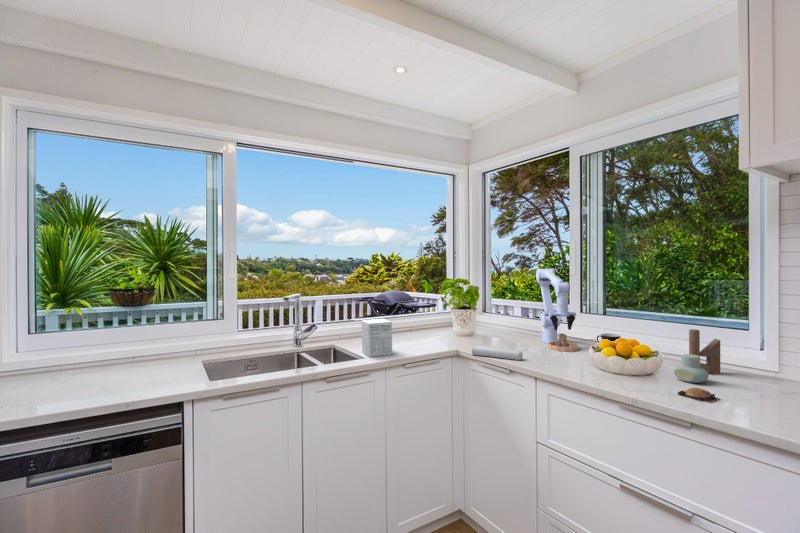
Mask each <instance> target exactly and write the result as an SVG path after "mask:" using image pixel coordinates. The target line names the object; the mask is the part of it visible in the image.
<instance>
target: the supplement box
mask: <svg viewBox="0 0 800 533" xmlns="http://www.w3.org/2000/svg"><path fill="white" fill-rule="evenodd" d="M361 349H362V353H363V354H365V355H366V356H367V357H368V358H372V357H383V356H391V355H393V321H391V320H388V319H385V318H374V319H363V320H361Z"/></svg>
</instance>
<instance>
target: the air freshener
mask: <svg viewBox="0 0 800 533" xmlns="http://www.w3.org/2000/svg"><path fill="white" fill-rule="evenodd" d="M700 363H701V356H700V357H699V356H697V355H692V354H689V353H683V354H681V364H680V365H677V366H675V368H674V370H673V374H674V375H675V377H677V379H679V380H680V381H682V382H685V383H689V384H690V383H691V384H692V383H693V384H698V383H699V384H700V383H703V382H705V381H708V379H709V374H708V372H707V371H706V370H705V369H703V368H701V367H700Z"/></svg>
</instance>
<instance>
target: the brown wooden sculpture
mask: <svg viewBox="0 0 800 533" xmlns="http://www.w3.org/2000/svg"><path fill="white" fill-rule="evenodd" d="M688 330H689V331H688V341H689V342H688V354H692V355H697V356H699V357H700V358H702V357H703V358H704V357H705V359H706V361H705V362H706V363H704V362H703V363H702V362H700V367H701V368H703V369H705V370H706V371H707V372H708V375H709V374H711V375H721V340H720V339H717V338H713V339H712V341H710V342H709V343H708V344H707V345H705V347H703V348H702V349H700V345H701V343H700V342H701V341H700V338H701V336H700V335H701V334H700V330H699V329H697V328H696V329H693V328H691V329H690V328H689V329H688Z"/></svg>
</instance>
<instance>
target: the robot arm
mask: <svg viewBox="0 0 800 533" xmlns="http://www.w3.org/2000/svg"><path fill="white" fill-rule="evenodd" d="M535 277H536V282H537V284H538V285H539V287H540V291H541V293H540V294H541V297H542V302H543V303H542V304H543V309H544V311H543V312H542V313H541V314H540V325H541V326H542V328H541V339H540V341H541V342H543V343H545V344H548V342H552V341H558V328H559V327H560V325H561V317H566V319H567V321H566V322H567V329H568V331H569V330H571V329H572V327H573V324H574V321H575V320H576V317H577V312H575V311H573V312H571V311H570V312H569V293H570V290H571V286H570V283H569V282H568V281H567V282H564V280H562V279H561V277H560V276H558V275H557V276H556V270H555V269H554V268H537V269H536V270H535ZM550 285H552V287H553V288H554V292H555V297H556V310H554V306H553V301H552V300H553V299H552V295H551V289H550ZM571 331H572V330H571Z"/></svg>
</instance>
